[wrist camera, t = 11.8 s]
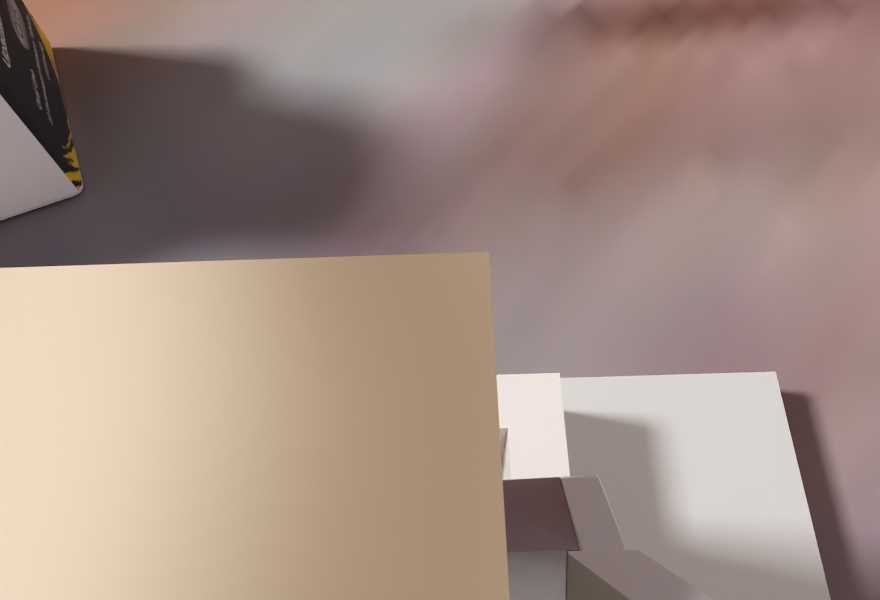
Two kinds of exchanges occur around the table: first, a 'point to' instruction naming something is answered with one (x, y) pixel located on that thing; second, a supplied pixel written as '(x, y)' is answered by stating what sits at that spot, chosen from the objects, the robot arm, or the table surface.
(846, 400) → the table surface
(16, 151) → the medicine bottle
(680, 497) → the keyhole dock
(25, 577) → the beech peg
